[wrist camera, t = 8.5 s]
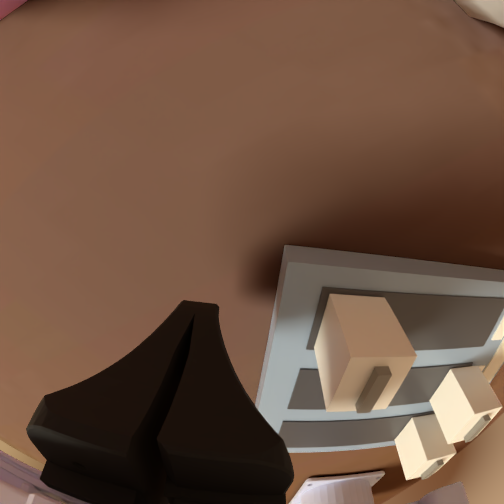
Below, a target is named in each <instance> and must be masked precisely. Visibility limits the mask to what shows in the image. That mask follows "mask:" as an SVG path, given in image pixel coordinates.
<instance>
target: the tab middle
mask: <svg viewBox="0 0 504 504" xmlns="http://www.w3.org/2000/svg"><path fill="white" fill-rule="evenodd" d="M429 401H430V403H431V406H432V408H433V410H434V412H435V415H436V417H437V419H438V422H439V424H440V426H441V429H442V431H443V434H444V436H445V439H446V441H447V444H452V443H455V442H459V441H463V440H465V442H470V441H472V440H473V439H474V438H475V437H476V436H477V435H478V434H479V433H480V432H481V431H482V430H483V429H484V427H485V426H486V425H487V424H488V423H489V422H490V421H491V420H492V418H493V417H494V416H495V415H496V414H497V413H498V411H499V410H500V409H501V408H502V405H501V403H500V401H499V399H498V398H497V396H496V394H495V393H494V391H493V389H492V388H491V386H490V384H489V383H488V381H487V379H486V378H485V376H484V374H483V373H482V371H481V370H480V368H479V367H478V365H477V366H469V367H461V368H453V369H450V370H449V372H448V373H447V375H446V377H445V378H444V380H443V381H442V383H441V384H440V386H439V387H438V389H437V390H436V392H435V393H434V394H433V396H432V397H431V399H430V400H429Z"/></svg>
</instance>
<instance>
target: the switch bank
mask: <svg viewBox="0 0 504 504" xmlns="http://www.w3.org/2000/svg"><path fill="white" fill-rule="evenodd" d="M329 294H342V295H356V296H370V297H385V299H386V300H387V302H388V304H389V306H390V307H391V309H392V311H393V313H394V314H395V316H396V318H397V320H398V321H399V323H400V325H401V327H402V329H403V330H404V332H405V334H406V336H407V338H408V340H409V341H410V343H411V345H412V347H413V349H414V351H415V353H416V355H417V358H416V360H415V361H414V363H413V365H412V367H411V369H410V370H409V372H408V374H407V376H406V377H405V379H404V381H403V382H402V384H401V386H400V387H399V389H398V391H397V392H396V394H395V396H394V397H393V399H392V400H391V402H390V404H389V405H388V407H387V408H386V409H379V410H371V412H370V413H357V411H345V412H326V407H325V401H324V396H323V391H322V385H321V380H320V375H319V370H318V365H317V360H316V355H315V350H314V346H315V343H316V339H317V336H318V333H319V329H320V326H321V323H322V319H323V316H324V312H325V309H326V305H327V301H328V298H329ZM503 363H504V270H498V269H490V268H482V267H474V266H466V265H458V264H450V263H442V262H434V261H425V260H417V259H409V258H400V257H391V256H383V255H374V254H365V253H357V252H348V251H339V250H330V249H321V248H312V247H302V246H293V245H284V251H283V257H282V263H281V269H280V275H279V281H278V287H277V292H276V298H275V304H274V309H273V315H272V320H271V326H270V331H269V337H268V342H267V347H266V353H265V358H264V363H263V368H262V373H261V379H260V384H259V389H258V394H257V399H256V403H255V406H256V408H257V409H258V411H259V412H260V413H261V414H262V416H263V417H264V418H265V420H266V421H267V422H268V423H269V424H270V426H271V427H272V428H273V429H274V430H275V431H276V432H277V433H278V434H279V435H280V437H281V438H282V439H283V440H284V443H285V445H286V448H287V450H288V452H330V451H345V450H357V449H367V448H376V447H384V446H391V445H396V444H395V439H396V437H397V436H398V435H399V434H400V432H401V431H402V430H403V429H404V427H405V426H406V425H407V423H408V422H409V421H410V420H411V418H412V417H419V416H426V415H432V414H435V412H434V410H433V408H432V406H431V403H430V401H429V400H430V399H431V397H432V396H433V394H434V393H435V392H436V390H437V389H438V387H439V386H440V384H441V383H442V381H443V380H444V378H445V377H446V375H447V373H448V372H449V370H450V369H453V368H461V367H469V366H477V365H478V367H479V368H480V370H481V371H482V373H483V374H484V376H485V378H486V379H487V381H488V383H489V384H490V382H491V381H492V380H493V378H494V377H495V375H496V374H497V372H498V371H499V369H500V368H501V366H502V365H503Z"/></svg>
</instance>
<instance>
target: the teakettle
mask: <svg viewBox="0 0 504 504" xmlns="http://www.w3.org/2000/svg"><path fill="white" fill-rule="evenodd" d="M26 1H28V0H0V20H1V19H3V18H4V17H5V16H7V15H8V14H10V13H11V12H12V11H14V10H15V9H17V8H18V7H19V6H21V5H22V4H24V3H25V2H26Z"/></svg>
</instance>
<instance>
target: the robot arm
mask: <svg viewBox="0 0 504 504" xmlns="http://www.w3.org/2000/svg"><path fill="white" fill-rule="evenodd" d="M26 430H27V434H28V437H29V438H30V440H31V441H32V443H33V444H34V445H35V446H36V448H37V449H38V450H39V451H40V453H41V454H42V455H43V456H44V457H45V458H46V460H47V461H46V464H45V466H44V469H43V471H39V470H37V469H35V468H33V467H31V466H29V465H27V464H25V463H23V462H21V461H19V460H17V459H15V458H13V457H12V456H10V455H8V454H6V453H4V452H3V451H1V450H0V504H63V503H65V504H286V494H285V493H286V491H287V490H288V488H289V487H290V485H291V484H292V482H293V479H294V471H293V466H292V462H291V459H290V456H289V453H288V450H287V448H286V445H285V443H284V440H283V439H282V438H281V437H280V435H279V434H278V433H277V432H276V431H275V430H274V429H273V428H272V427H271V426H270V424H269V423H268V422H267V421H266V420H265V418H264V417H263V416H262V414H261V413H260V412H259V411H258V409H257V408H256V406H255V405H254V403H253V402H252V400H251V399H250V397H249V396H248V394H247V393H246V391H245V390H244V388H243V386H242V384H241V382H240V381H239V379H238V377H237V375H236V373H235V371H234V368H233V366H232V364H231V361H230V359H229V356H228V354H227V351H226V348H225V345H224V341H223V338H222V334H221V330H220V324H219V306H218V305H217V304H211V303H203V302H194V301H186V300H183V301H182V302H181V303H180V304H179V305H178V306H177V307H176V309H175V310H174V311H173V312H172V313H171V314H170V315H169V317H168V318H167V319H166V320H165V321H164V322H163V323H162V324H161V325H160V326H159V327H158V328H157V329H156V330H155V331H154V332H153V333H152V334H151V335H150V336H149V337H148V338H146V339H145V340H144V341H143V342H142V343H141V344H140V345H139V346H137V347H136V348H135V349H134V350H133V351H131V352H130V353H129V354H127V355H126V356H125V357H123V358H122V359H120V360H119V361H118V362H116V363H114V364H113V365H111V366H110V367H108V368H106V369H105V370H103V371H101V372H100V373H98V374H96V375H94V376H92V377H90V378H88V379H86V380H84V381H82V382H80V383H78V384H75V385H73V386H70V387H68V388H65V389H62V390H59V391H57V392H54V393H51V394H48V395H45V396H44V398H43V399H42V401H41V402H40V403H39V405H38V407H37V409H36V411H35V413H34V415H33V416H32V418H31V420H30V422H29V424H28V426H27V428H26ZM384 475H385V472H384V471H377V472H370V473H363V474H354V475H345V476H334V477H319V478H309V479H307V480H306V481H305V482H304V484H303V485H302V487H301V488H300V489H299V491H298V492H297V493H296V495H295V496H294V497H293V499H292V500H291V501H290V503H289V504H374V500H373V495H372V490H371V487H372V486H373V485H374V484H375V483H376V482H377V481H379V480H380V479H381V478H382V477H383V476H384ZM59 501H61V502H63V503H61V502H59ZM409 504H469V501H468V498H467V495H466V492H465V489H464V486H463V483H462V482H457V483H454V484H451V485H448V486H445V487H442V488H439V489H436V490H434V491H432V492H430V493H428V494H426V495H425V496H424V497H422V498H421V499H420V500H419V501H416V502H413V503H409Z"/></svg>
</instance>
